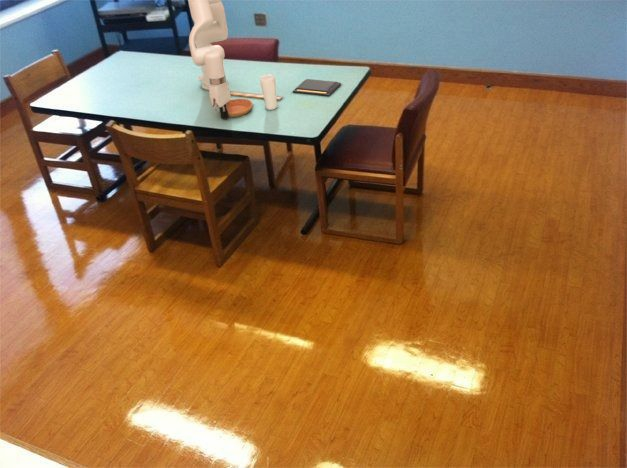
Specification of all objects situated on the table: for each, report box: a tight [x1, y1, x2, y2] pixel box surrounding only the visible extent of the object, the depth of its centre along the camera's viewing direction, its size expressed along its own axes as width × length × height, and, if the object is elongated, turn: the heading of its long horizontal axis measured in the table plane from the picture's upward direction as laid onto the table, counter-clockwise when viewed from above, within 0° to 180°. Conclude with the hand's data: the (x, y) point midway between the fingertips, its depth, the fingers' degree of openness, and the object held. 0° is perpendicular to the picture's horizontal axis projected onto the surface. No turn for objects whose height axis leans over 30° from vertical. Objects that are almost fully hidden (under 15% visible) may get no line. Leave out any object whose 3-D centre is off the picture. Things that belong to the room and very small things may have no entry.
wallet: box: [292, 78, 342, 97], centre depth 293 cm, size 20×2×15 cm
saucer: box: [227, 98, 254, 118], centre depth 280 cm, size 16×16×3 cm
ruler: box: [230, 90, 283, 102], centre depth 293 cm, size 30×3×1 cm, turn 65°
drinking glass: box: [259, 74, 278, 111], centre depth 276 cm, size 7×7×15 cm
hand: (225, 118), depth 274 cm, fingers closed
